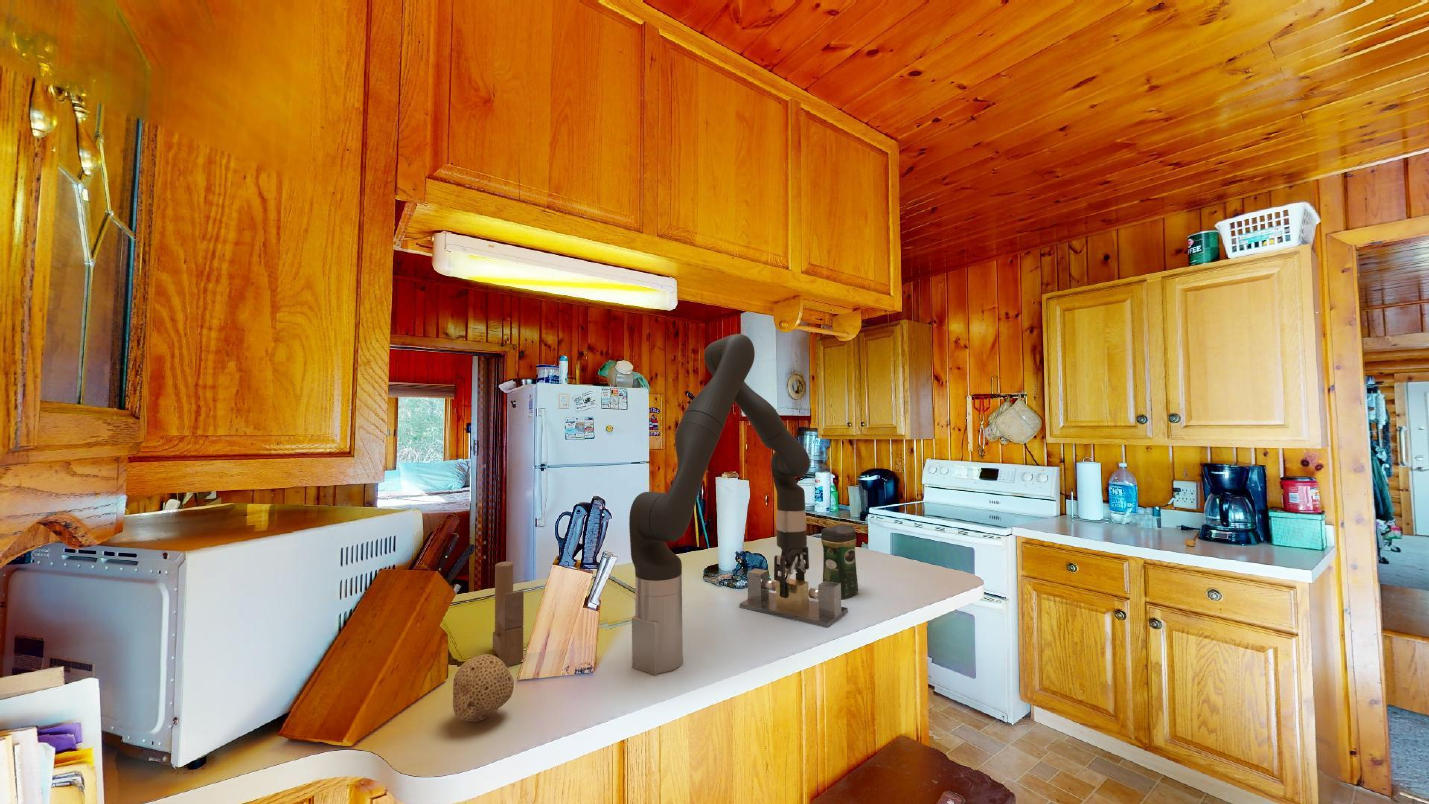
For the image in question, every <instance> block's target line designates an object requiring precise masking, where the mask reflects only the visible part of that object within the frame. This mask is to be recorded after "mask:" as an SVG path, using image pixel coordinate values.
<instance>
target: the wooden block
mask: <svg viewBox="0 0 1429 804" xmlns="http://www.w3.org/2000/svg"><path fill="white" fill-rule="evenodd" d="M524 595H525V594H524V590H520V591H514V563H513V562H512V561H501V562H498V563H496V564H495V565H494V631H493V632H492V649H493V650H494V653H495V654H496V655H497V658H499V659H500V660H502V661H503V662H504V664H505V665H506V667H507V668H509V667H511V666H515V665H519V664H522V663H521V661H522V659H523V660H524V614H525V613H524V611H525V610H524V600H525V599H524Z"/></svg>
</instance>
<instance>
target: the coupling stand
mask: <svg viewBox="0 0 1429 804" xmlns="http://www.w3.org/2000/svg"><path fill="white" fill-rule="evenodd" d="M808 589H809V606H808V607H807V608H805V609H804V610H802V611H800V610H796V609H791V608H786V607H781V606H777V605H776V581H775V580H771V579H769V570H767V569H761V568H752V569H751V570H749V571H747V599H746V600H744V601H742V602H739V608H740V607H741V609H744V610H745V609H746V610H749V609H750V611H753V612H759V613H762V612H763V614H766V615H772V616H775V617H779V618H784V619H788V620H792V621H797V620H798V622H801V623H806V624H811V625H815V626H819V627H823V628H829V627H830V626H832V625H833V624H835V623H836V622H837V621H839V620H840V619H841V618H842V617H844V616H845V615H846V614H847V613H848V612H849V609H848V607H846V606H845V607H844V606H842V598H841V583H836V582H831V581H824V582H823V581H822V582H820V583H818V585H817V588H815V587H814V588H813V587H810V588H808ZM770 591H773V592H770ZM810 599H811V600H810ZM812 599H813V600H812ZM815 600H817V601H815Z"/></svg>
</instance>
